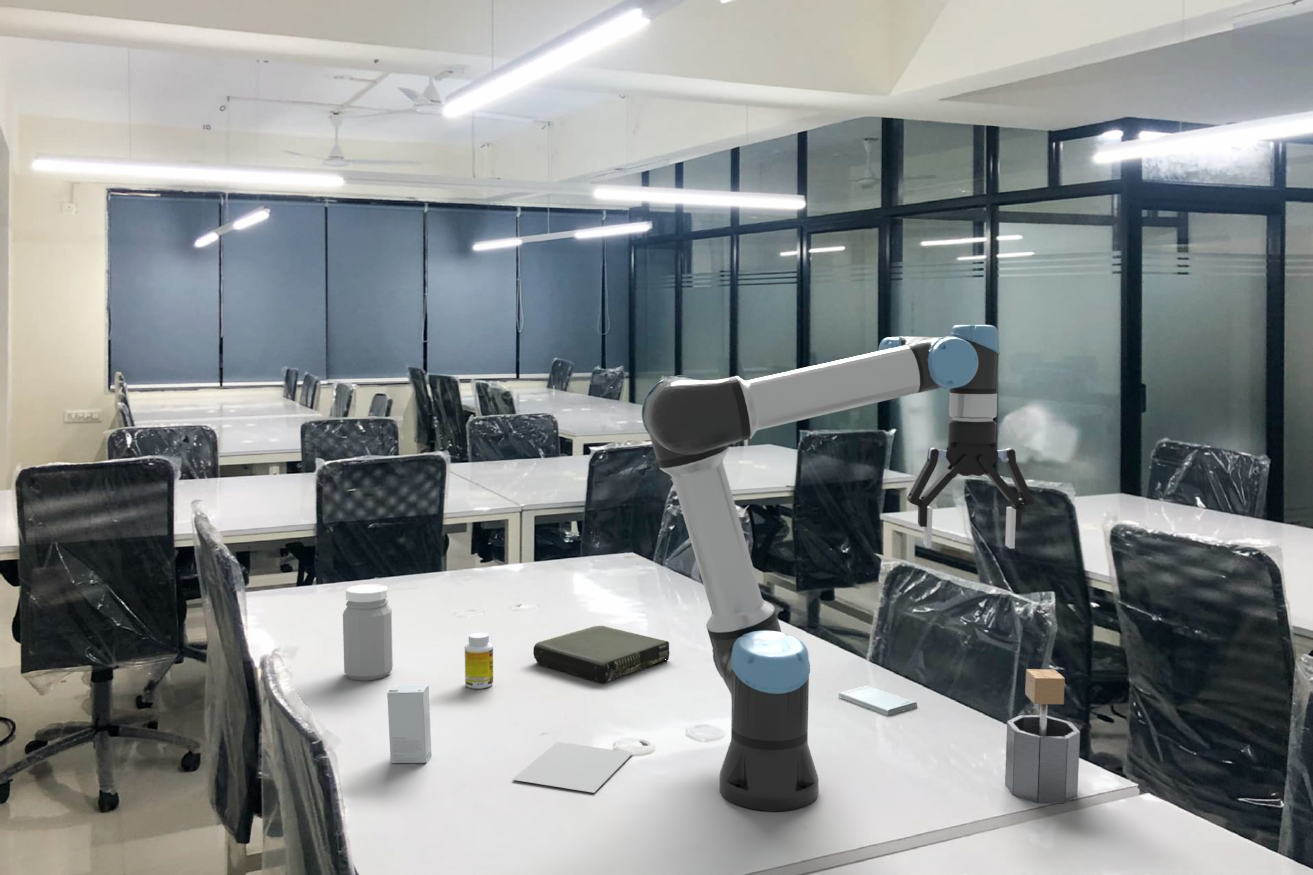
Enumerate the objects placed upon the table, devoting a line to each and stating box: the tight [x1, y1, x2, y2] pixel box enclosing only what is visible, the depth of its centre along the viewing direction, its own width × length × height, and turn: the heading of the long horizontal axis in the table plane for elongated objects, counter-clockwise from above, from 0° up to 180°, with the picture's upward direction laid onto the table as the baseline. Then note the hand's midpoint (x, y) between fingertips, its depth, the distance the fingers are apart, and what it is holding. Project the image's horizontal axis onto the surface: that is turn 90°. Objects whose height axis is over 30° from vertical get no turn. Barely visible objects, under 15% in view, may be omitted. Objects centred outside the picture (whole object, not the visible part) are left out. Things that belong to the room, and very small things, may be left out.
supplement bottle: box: [464, 632, 494, 690], centre depth 214 cm, size 6×6×10 cm
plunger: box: [1024, 668, 1066, 736], centre depth 165 cm, size 7×7×16 cm
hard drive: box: [838, 685, 918, 716], centre depth 206 cm, size 2×8×12 cm
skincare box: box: [386, 684, 432, 764], centre depth 177 cm, size 6×4×12 cm
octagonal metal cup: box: [1004, 714, 1081, 804], centre depth 166 cm, size 10×10×10 cm
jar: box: [342, 583, 394, 681], centre depth 221 cm, size 10×10×18 cm
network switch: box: [532, 625, 670, 685], centre depth 230 cm, size 23×23×5 cm
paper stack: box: [511, 732, 634, 794], centre depth 180 cm, size 23×25×1 cm
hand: (968, 546), depth 179 cm, fingers open, 13 cm apart
